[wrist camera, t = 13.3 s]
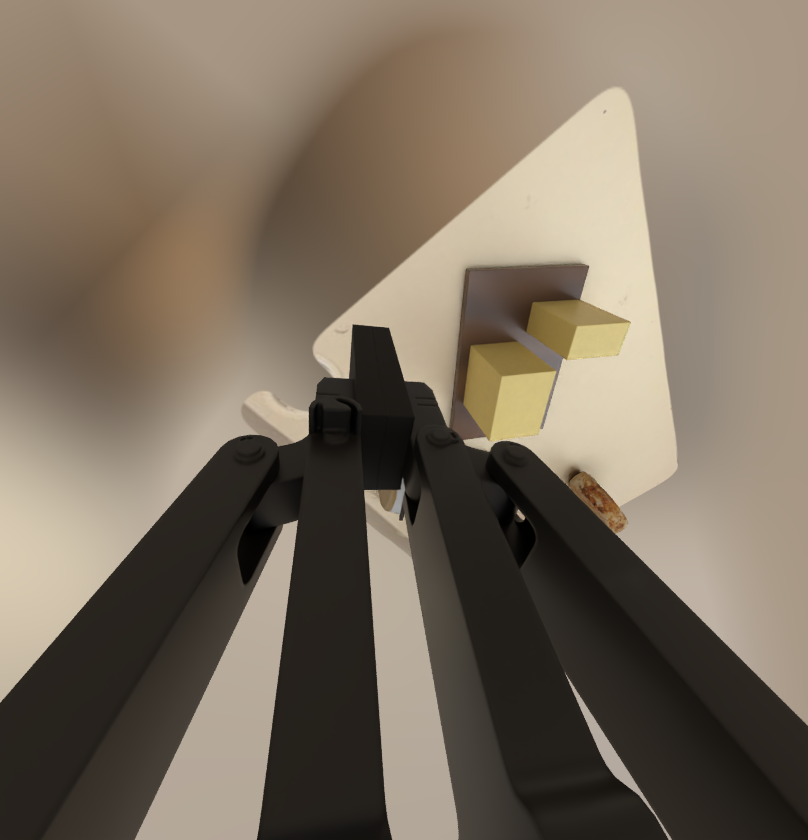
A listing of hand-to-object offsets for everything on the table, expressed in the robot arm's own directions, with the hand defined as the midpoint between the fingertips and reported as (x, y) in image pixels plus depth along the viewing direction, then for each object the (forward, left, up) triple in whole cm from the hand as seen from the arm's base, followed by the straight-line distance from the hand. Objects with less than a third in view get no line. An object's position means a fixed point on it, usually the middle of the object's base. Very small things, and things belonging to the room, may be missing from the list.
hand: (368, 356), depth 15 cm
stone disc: (+37, +38, -23) cm, 58 cm away
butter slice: (+7, +24, -22) cm, 33 cm away
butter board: (+12, +20, -23) cm, 33 cm away
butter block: (+13, +18, -22) cm, 31 cm away
